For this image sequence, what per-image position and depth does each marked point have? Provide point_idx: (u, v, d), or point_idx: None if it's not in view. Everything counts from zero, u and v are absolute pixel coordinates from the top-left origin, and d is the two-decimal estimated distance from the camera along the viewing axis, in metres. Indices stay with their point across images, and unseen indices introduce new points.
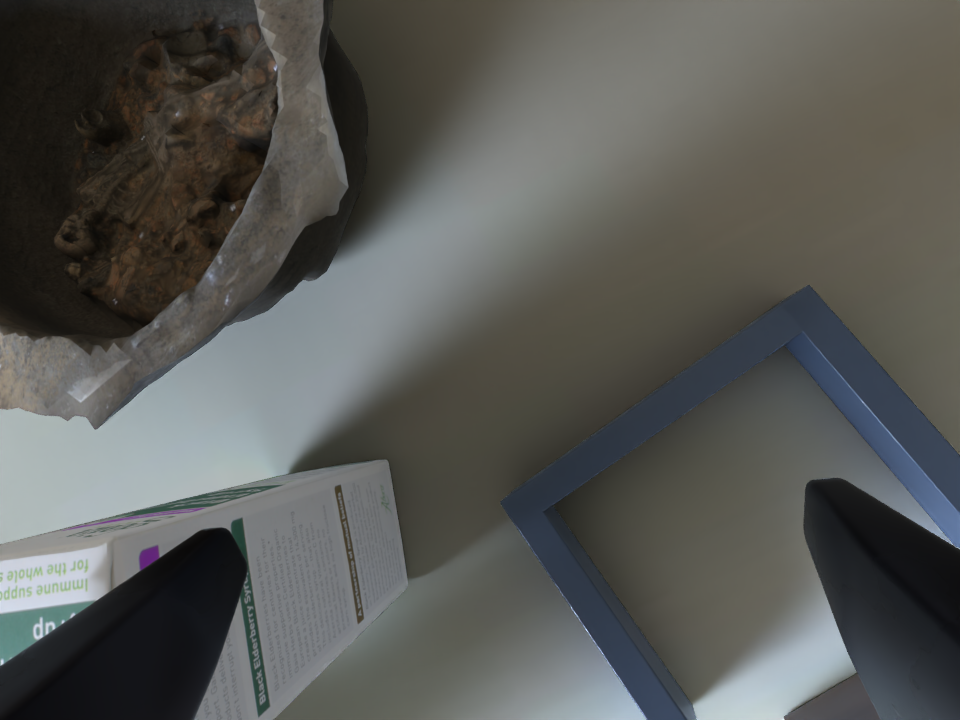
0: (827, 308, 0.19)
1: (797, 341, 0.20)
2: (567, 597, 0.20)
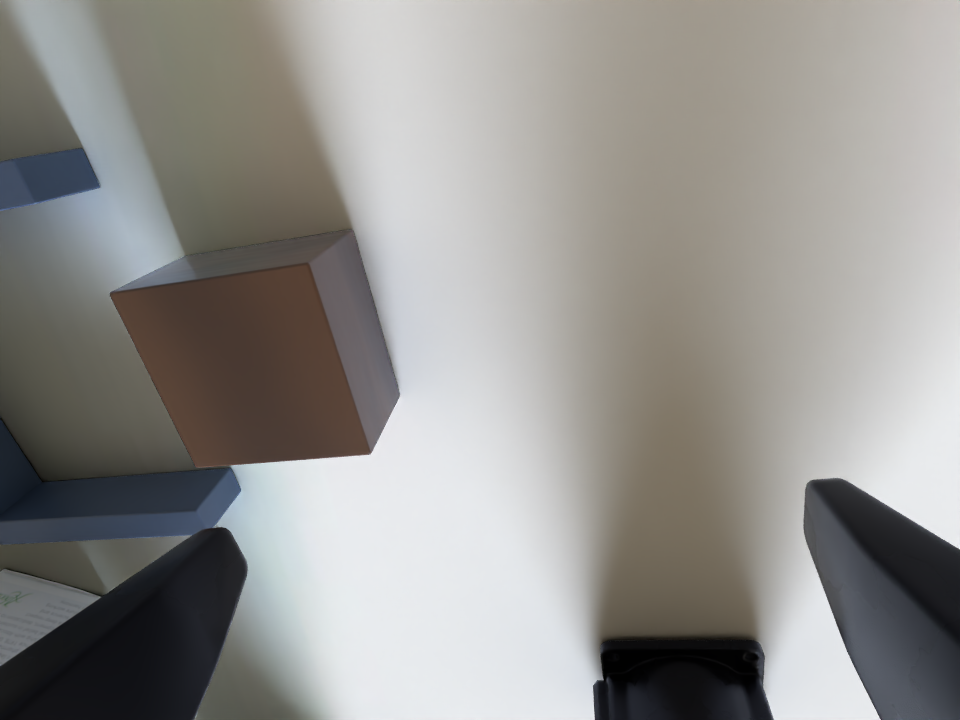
0: None
1: None
2: (65, 540, 0.22)
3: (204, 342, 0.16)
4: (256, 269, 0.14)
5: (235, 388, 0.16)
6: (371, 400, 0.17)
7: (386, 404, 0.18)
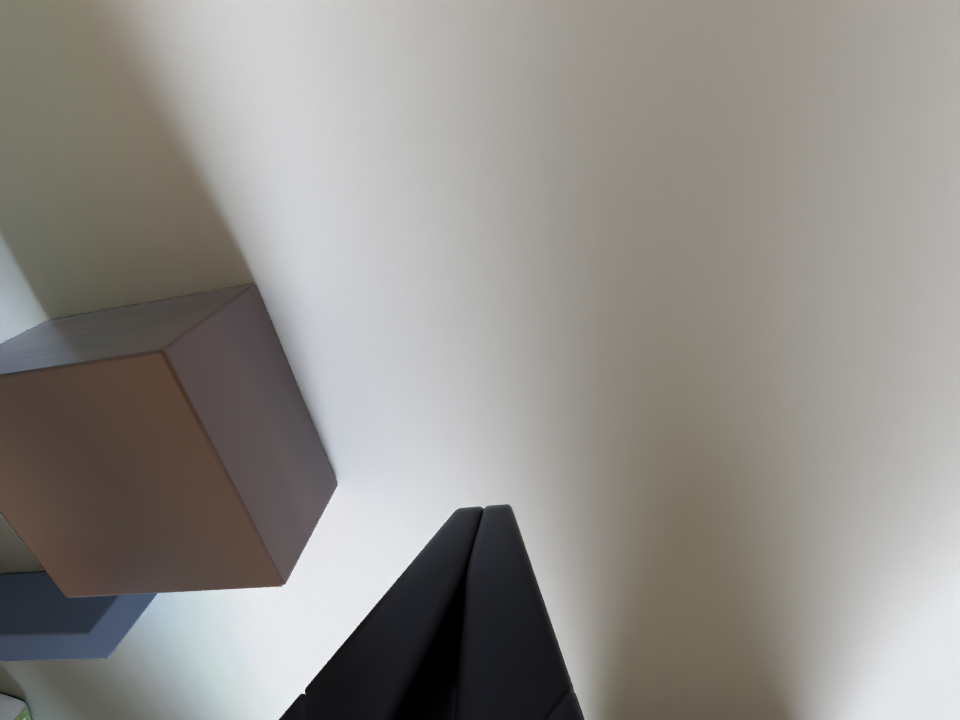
0: None
1: None
2: None
3: (44, 451, 0.11)
4: (95, 358, 0.10)
5: (95, 507, 0.12)
6: (285, 510, 0.13)
7: (313, 505, 0.14)
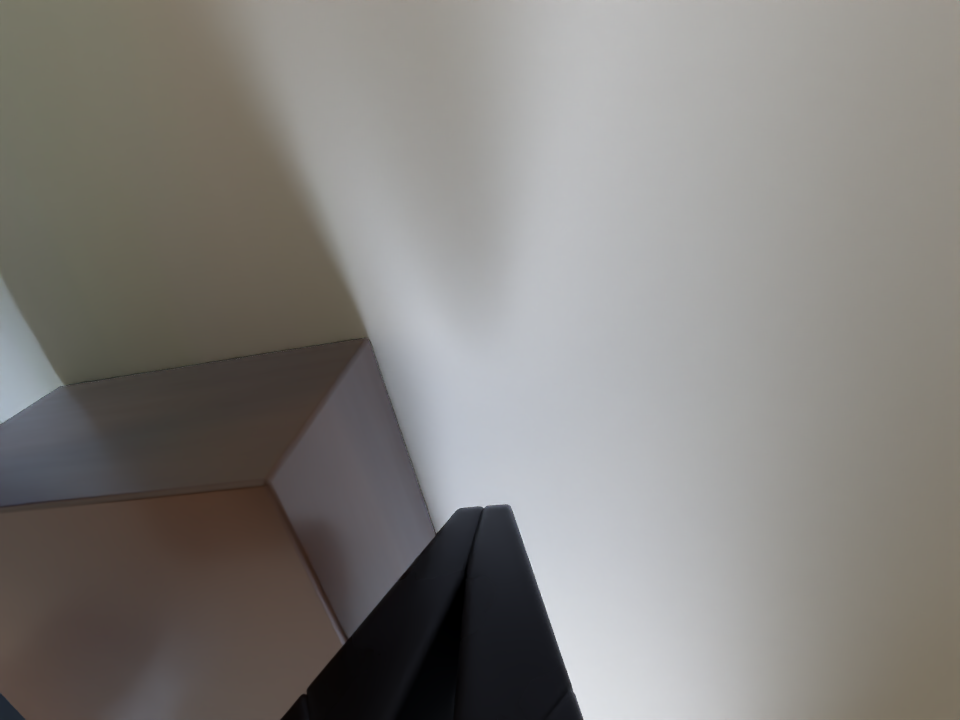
0: None
1: None
2: None
3: (60, 616, 0.07)
4: (148, 487, 0.06)
5: (138, 689, 0.08)
6: None
7: None
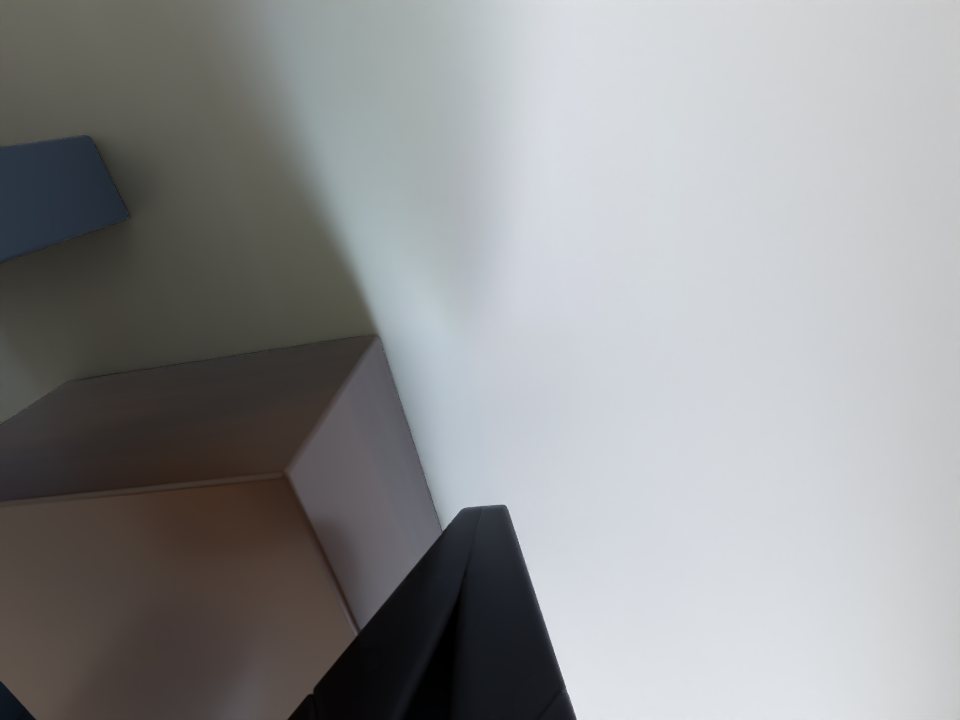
0: None
1: None
2: None
3: (71, 609, 0.07)
4: (165, 480, 0.06)
5: (148, 684, 0.08)
6: None
7: None
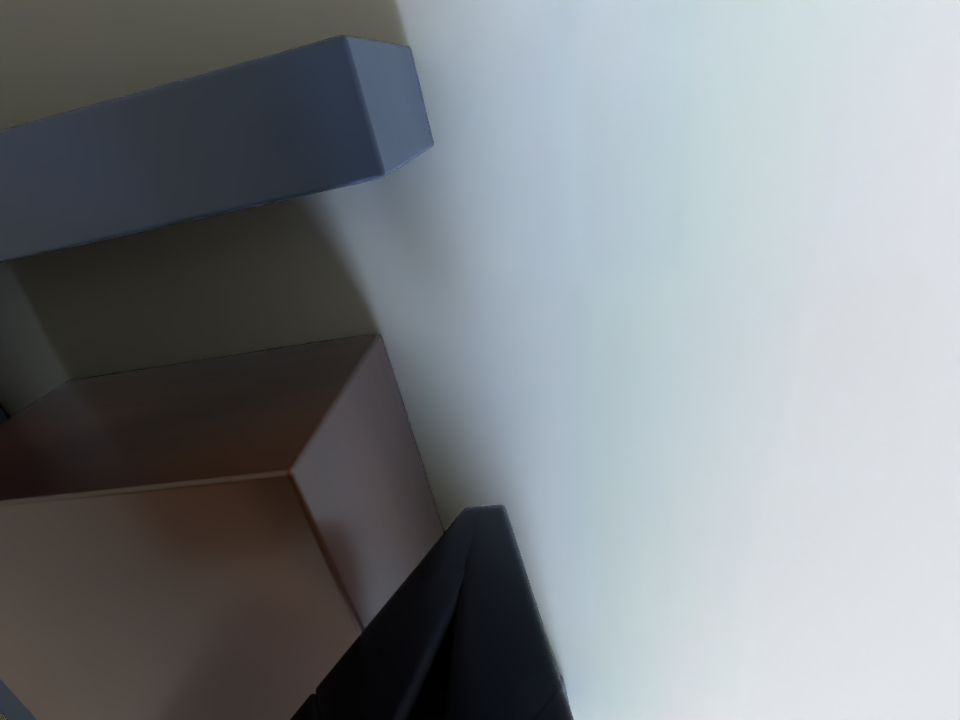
0: None
1: None
2: None
3: (74, 607, 0.07)
4: (169, 478, 0.06)
5: (151, 683, 0.08)
6: None
7: None
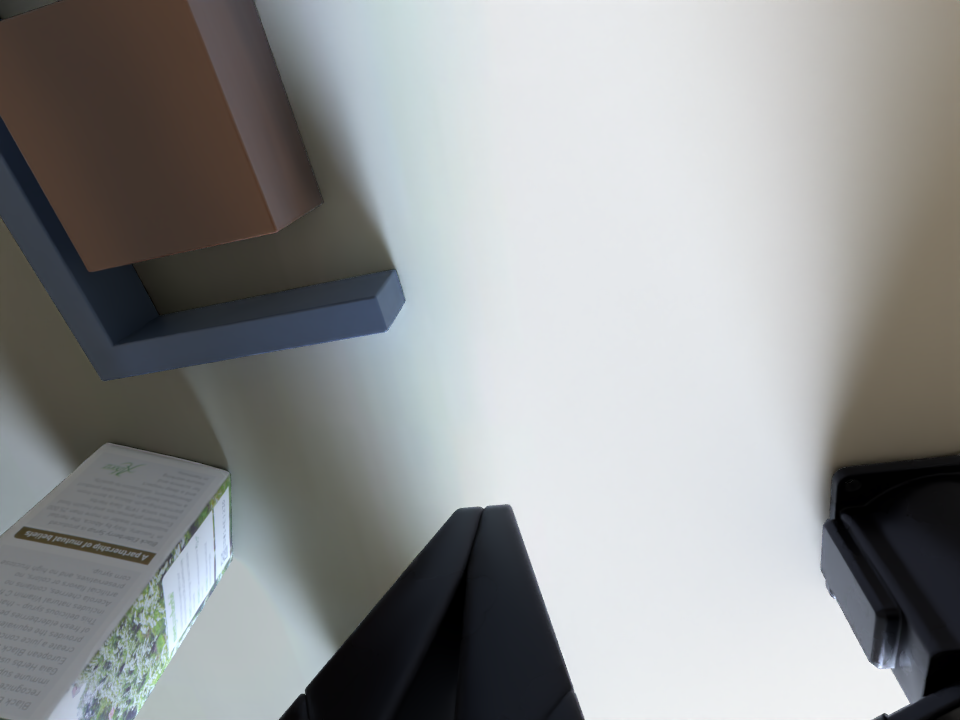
0: None
1: None
2: (204, 360, 0.18)
3: (71, 93, 0.14)
4: None
5: (115, 156, 0.14)
6: (277, 176, 0.15)
7: (302, 196, 0.16)
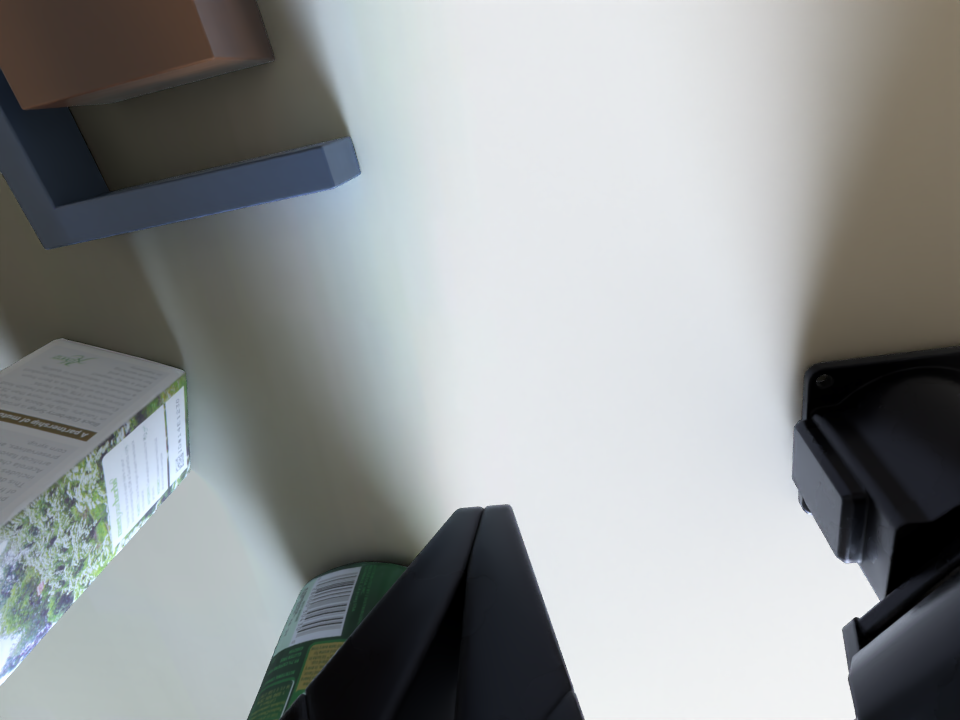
0: None
1: None
2: (148, 223, 0.17)
3: None
4: None
5: None
6: (217, 5, 0.14)
7: (248, 40, 0.16)
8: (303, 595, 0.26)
